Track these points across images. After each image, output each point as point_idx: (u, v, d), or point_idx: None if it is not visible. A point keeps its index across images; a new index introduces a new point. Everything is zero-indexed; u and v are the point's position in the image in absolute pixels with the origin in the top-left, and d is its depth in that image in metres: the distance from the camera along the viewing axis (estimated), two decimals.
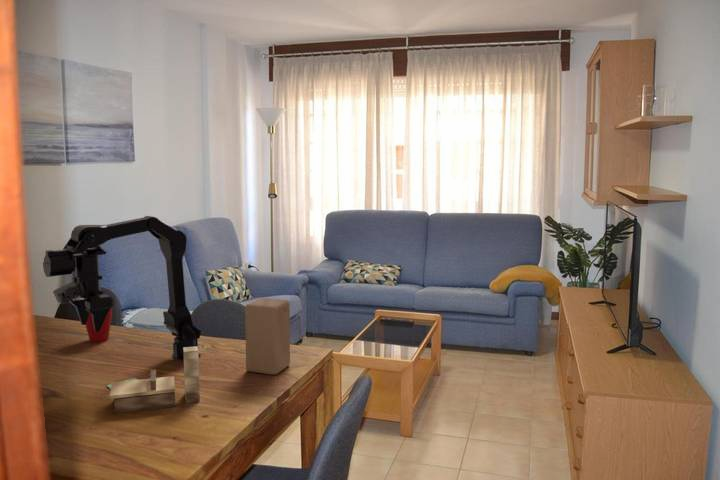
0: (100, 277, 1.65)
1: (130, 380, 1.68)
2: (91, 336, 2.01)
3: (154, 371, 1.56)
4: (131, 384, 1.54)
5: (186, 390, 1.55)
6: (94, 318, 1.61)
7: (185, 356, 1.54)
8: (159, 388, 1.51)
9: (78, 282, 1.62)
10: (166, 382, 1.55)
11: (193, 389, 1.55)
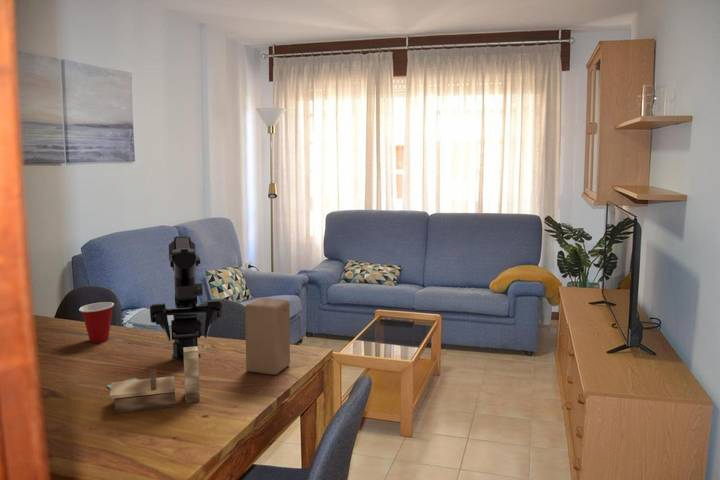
0: None
1: (130, 380, 1.68)
2: (91, 336, 2.01)
3: (154, 371, 1.56)
4: (131, 384, 1.54)
5: (186, 390, 1.55)
6: (210, 321, 1.66)
7: (185, 356, 1.54)
8: (159, 388, 1.51)
9: None
10: (166, 382, 1.55)
11: (193, 389, 1.55)
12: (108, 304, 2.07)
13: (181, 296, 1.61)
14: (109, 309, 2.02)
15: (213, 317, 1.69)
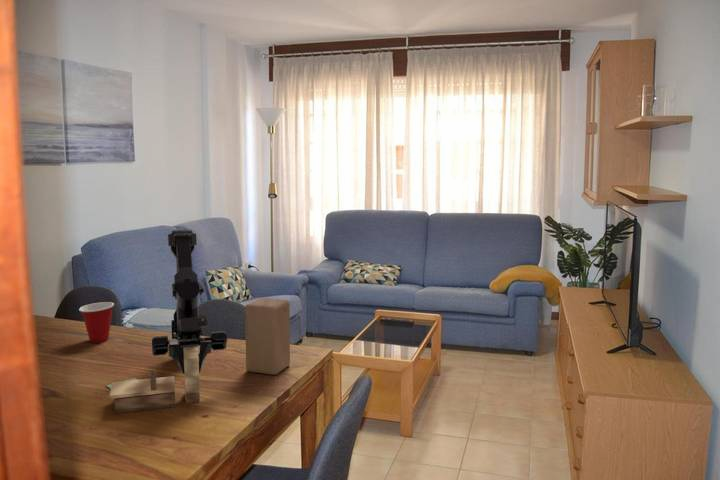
0: None
1: (130, 380, 1.68)
2: (91, 336, 2.01)
3: (154, 371, 1.56)
4: (131, 384, 1.54)
5: (186, 390, 1.55)
6: (204, 355, 1.58)
7: (185, 356, 1.54)
8: (159, 388, 1.51)
9: None
10: (166, 382, 1.55)
11: (193, 389, 1.55)
12: (108, 304, 2.07)
13: (185, 328, 1.54)
14: (109, 309, 2.02)
15: (207, 350, 1.61)
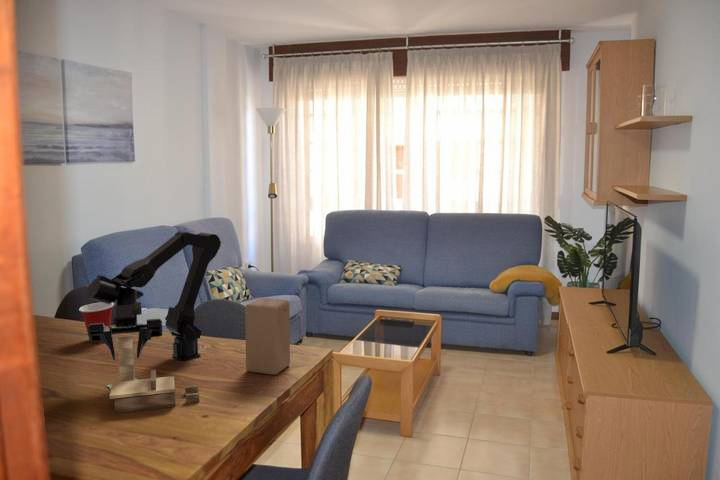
0: None
1: None
2: None
3: (154, 371, 1.56)
4: (131, 384, 1.54)
5: (121, 378, 1.62)
6: (142, 341, 1.65)
7: (119, 346, 1.60)
8: (159, 388, 1.51)
9: None
10: (166, 382, 1.55)
11: (127, 377, 1.62)
12: (108, 304, 2.07)
13: (119, 315, 1.60)
14: (109, 309, 2.02)
15: (147, 336, 1.68)
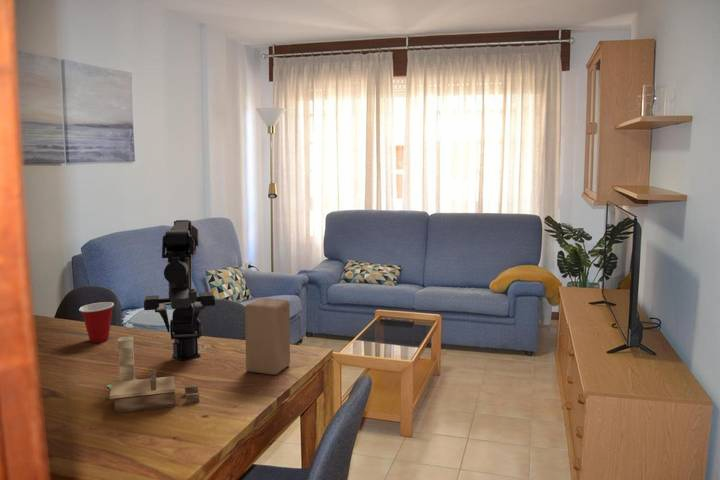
0: None
1: None
2: (91, 336, 2.01)
3: (154, 371, 1.56)
4: (131, 384, 1.54)
5: (121, 378, 1.62)
6: (197, 316, 1.71)
7: (119, 345, 1.60)
8: (159, 388, 1.51)
9: (186, 285, 1.67)
10: (166, 382, 1.55)
11: (127, 377, 1.62)
12: (108, 304, 2.07)
13: (175, 307, 1.62)
14: (109, 309, 2.02)
15: None
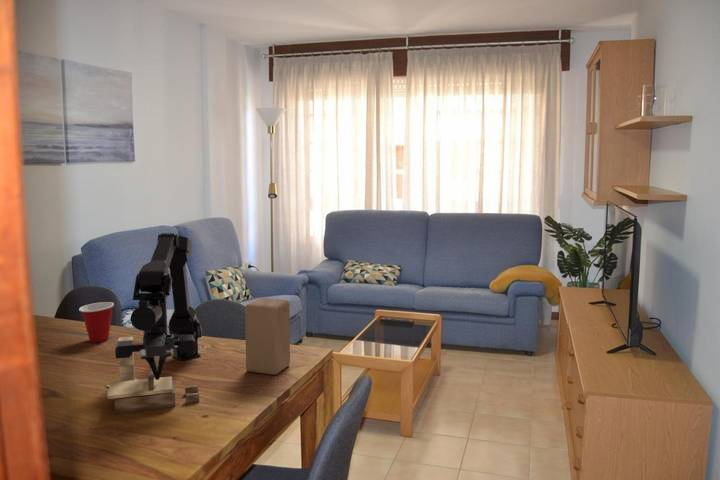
0: None
1: None
2: (91, 336, 2.01)
3: None
4: (129, 384, 1.53)
5: (121, 378, 1.62)
6: None
7: None
8: (157, 388, 1.51)
9: (163, 330, 1.50)
10: (164, 383, 1.55)
11: (127, 377, 1.62)
12: (108, 304, 2.07)
13: (150, 356, 1.45)
14: (109, 309, 2.02)
15: None
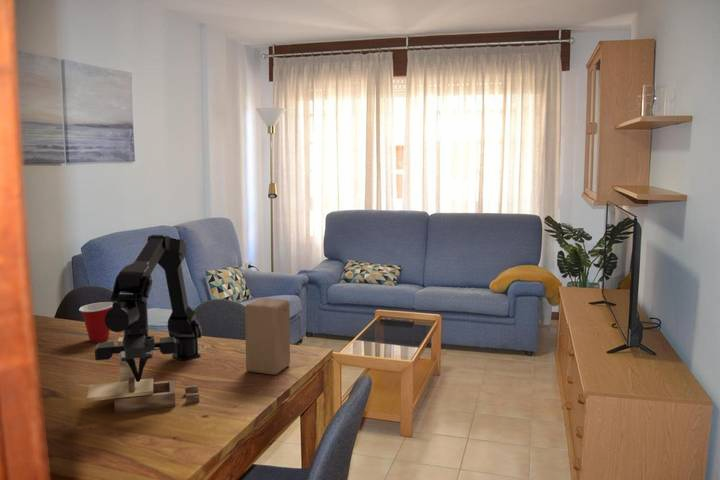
0: None
1: None
2: (91, 336, 2.01)
3: None
4: (109, 386, 1.52)
5: (121, 378, 1.62)
6: None
7: None
8: (137, 390, 1.50)
9: (143, 331, 1.48)
10: (145, 384, 1.53)
11: (127, 377, 1.62)
12: (108, 304, 2.07)
13: (130, 358, 1.44)
14: (109, 309, 2.02)
15: None
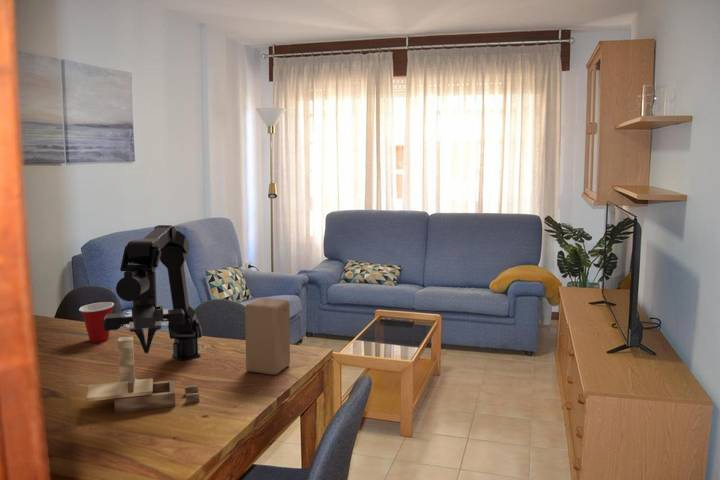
0: None
1: None
2: (91, 336, 2.01)
3: (132, 373, 1.54)
4: (109, 386, 1.52)
5: (121, 378, 1.62)
6: (152, 337, 1.51)
7: (119, 345, 1.60)
8: (136, 390, 1.50)
9: (151, 302, 1.48)
10: (144, 385, 1.53)
11: (127, 377, 1.62)
12: (108, 304, 2.07)
13: (139, 327, 1.43)
14: (109, 309, 2.02)
15: None
